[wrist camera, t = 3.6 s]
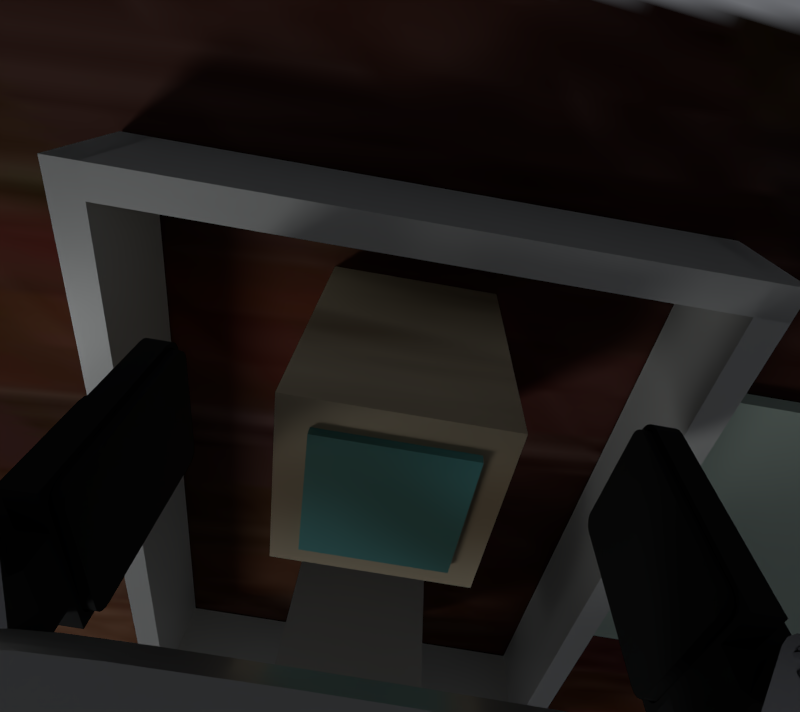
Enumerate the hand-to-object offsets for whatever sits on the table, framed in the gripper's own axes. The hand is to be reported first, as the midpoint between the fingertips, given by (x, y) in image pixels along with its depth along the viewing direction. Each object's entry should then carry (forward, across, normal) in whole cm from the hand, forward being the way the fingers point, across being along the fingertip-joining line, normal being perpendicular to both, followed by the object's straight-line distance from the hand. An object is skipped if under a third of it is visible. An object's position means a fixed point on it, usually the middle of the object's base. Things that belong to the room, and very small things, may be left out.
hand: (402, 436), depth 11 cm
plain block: (+4, 0, +12) cm, 13 cm away
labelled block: (+5, 0, +1) cm, 5 cm away
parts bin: (+5, 0, +6) cm, 8 cm away
